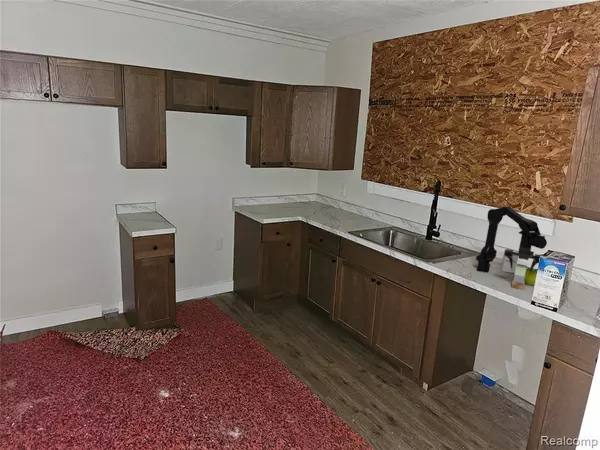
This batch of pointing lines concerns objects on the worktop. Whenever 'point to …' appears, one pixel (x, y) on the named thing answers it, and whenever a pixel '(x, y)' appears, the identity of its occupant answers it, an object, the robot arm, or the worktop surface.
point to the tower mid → (519, 278)
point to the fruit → (530, 276)
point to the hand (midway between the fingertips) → (520, 270)
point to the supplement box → (506, 264)
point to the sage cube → (520, 270)
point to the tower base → (518, 285)
